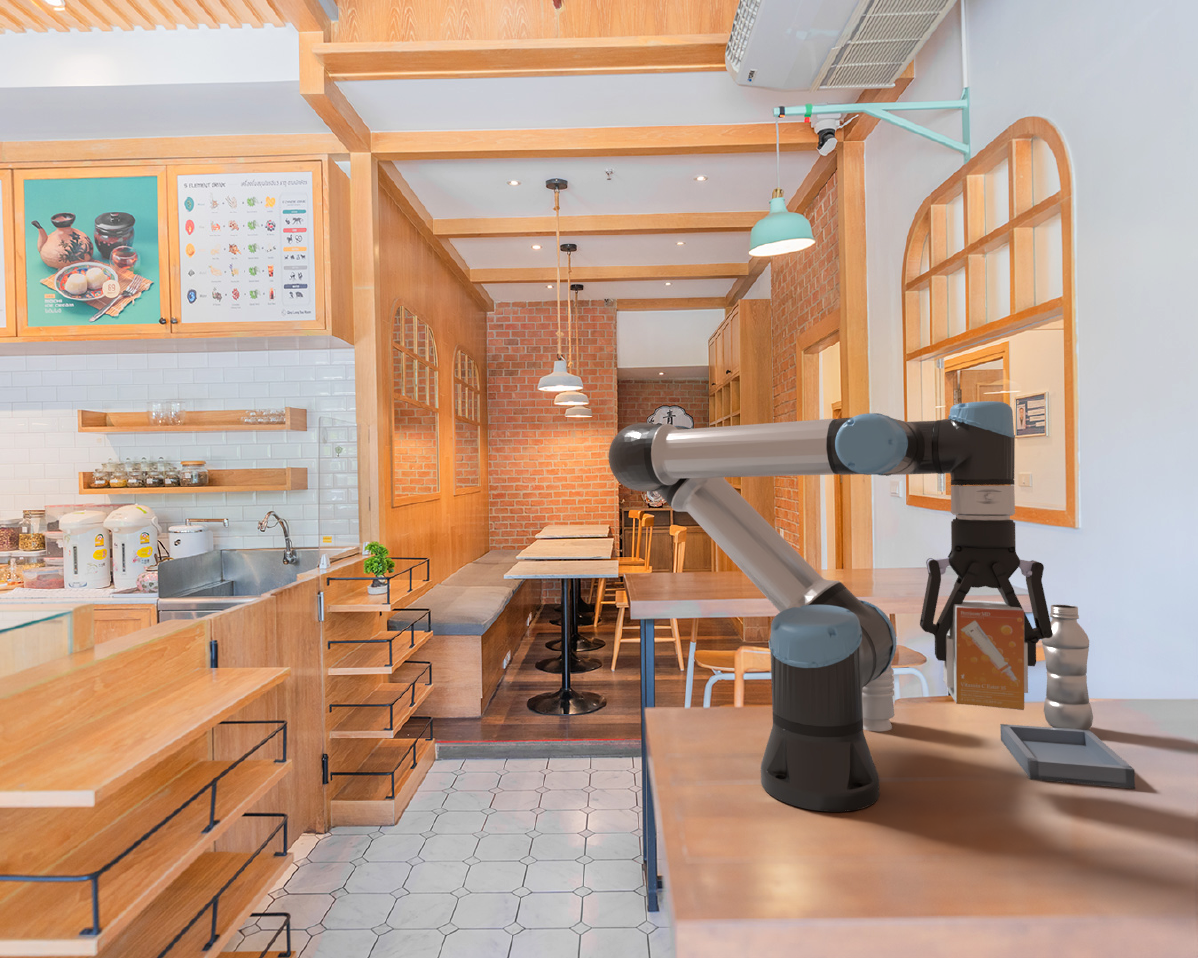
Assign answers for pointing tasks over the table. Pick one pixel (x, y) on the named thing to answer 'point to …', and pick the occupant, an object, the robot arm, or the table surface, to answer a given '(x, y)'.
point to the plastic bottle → (1067, 671)
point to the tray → (1066, 756)
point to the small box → (988, 654)
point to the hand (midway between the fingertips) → (984, 686)
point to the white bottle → (878, 702)
